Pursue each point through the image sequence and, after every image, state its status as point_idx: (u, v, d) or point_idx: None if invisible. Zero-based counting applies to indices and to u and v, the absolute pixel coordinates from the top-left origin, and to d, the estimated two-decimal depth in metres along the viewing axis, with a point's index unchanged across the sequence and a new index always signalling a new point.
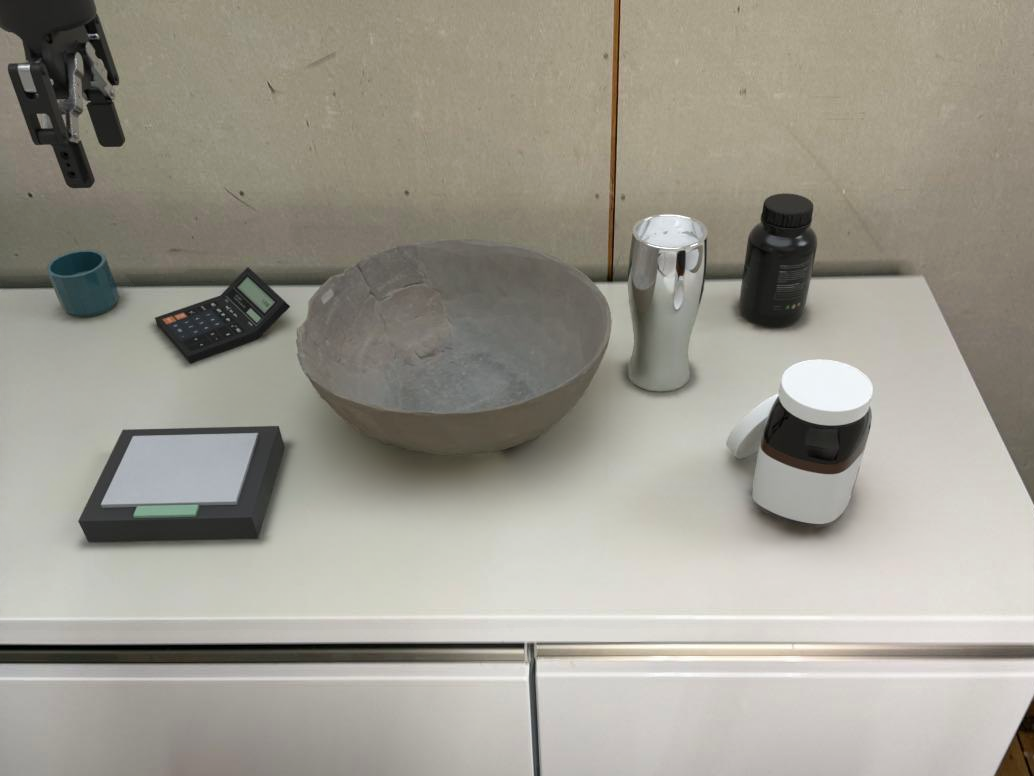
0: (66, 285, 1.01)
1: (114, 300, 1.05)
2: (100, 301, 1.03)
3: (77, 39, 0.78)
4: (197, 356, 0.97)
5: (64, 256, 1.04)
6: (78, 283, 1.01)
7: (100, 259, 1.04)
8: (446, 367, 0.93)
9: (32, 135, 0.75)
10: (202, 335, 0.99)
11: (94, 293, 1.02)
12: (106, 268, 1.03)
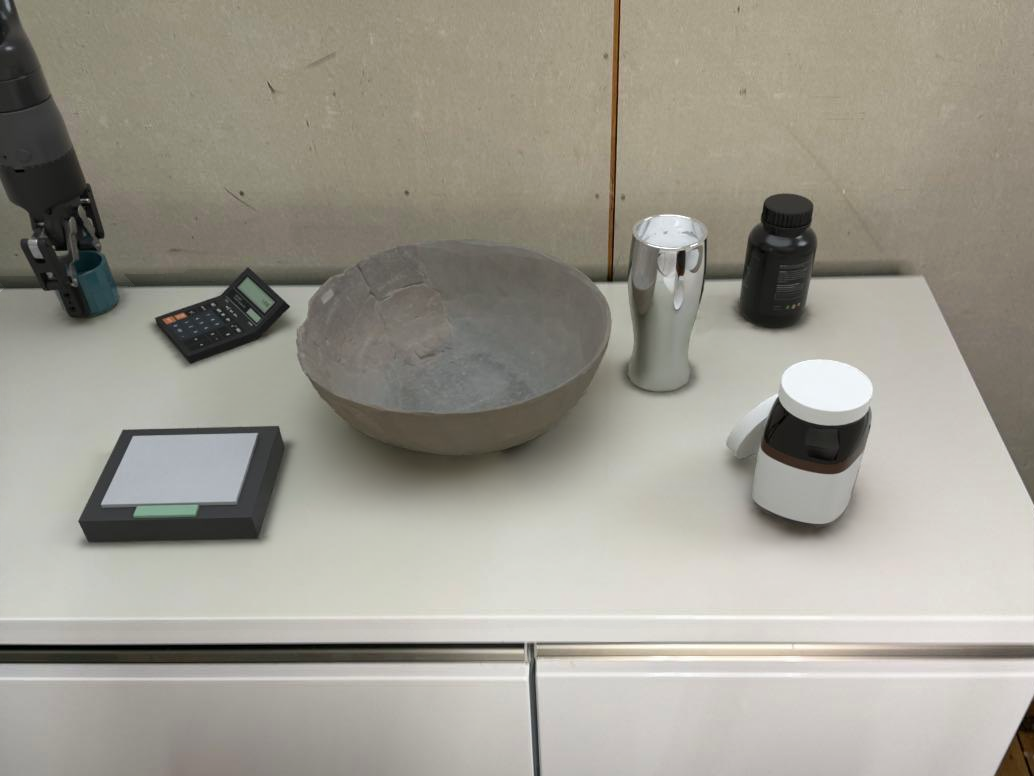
0: None
1: (114, 300, 1.05)
2: (100, 301, 1.03)
3: (71, 204, 0.99)
4: (197, 356, 0.97)
5: None
6: None
7: (100, 259, 1.04)
8: (446, 367, 0.93)
9: (42, 286, 0.97)
10: (202, 335, 0.99)
11: (94, 293, 1.02)
12: (106, 268, 1.03)
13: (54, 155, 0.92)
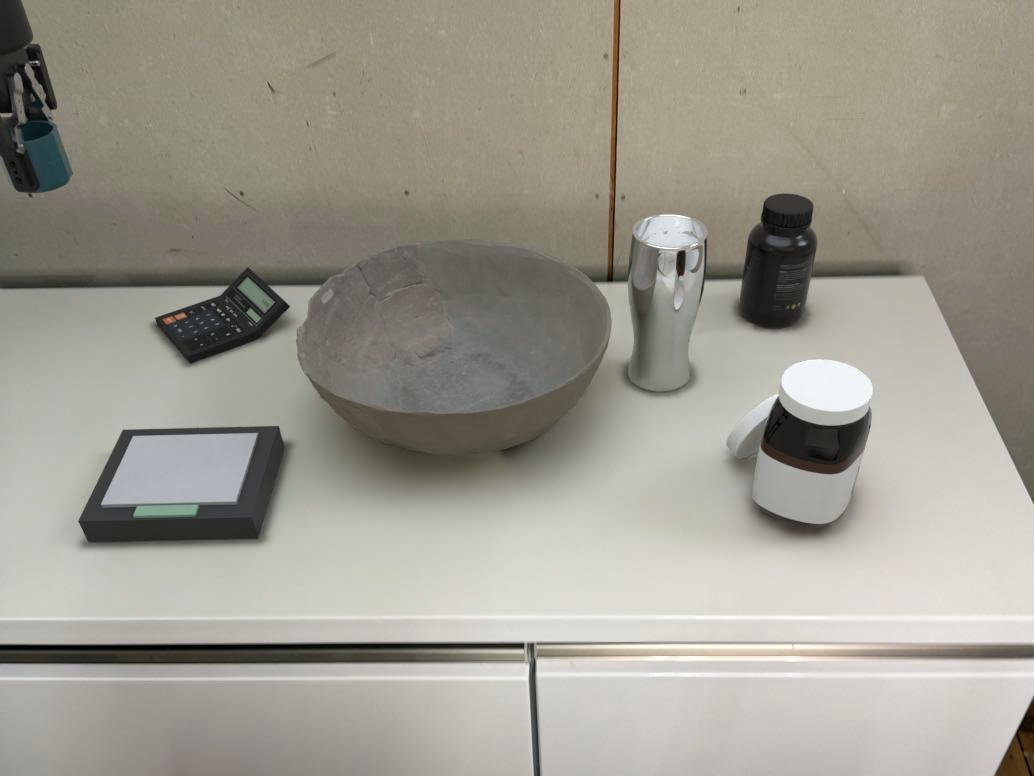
0: None
1: (67, 176, 0.95)
2: (51, 174, 0.93)
3: (17, 61, 0.90)
4: (197, 356, 0.97)
5: None
6: None
7: (51, 130, 0.94)
8: (446, 367, 0.93)
9: None
10: (202, 335, 0.99)
11: (44, 164, 0.93)
12: (57, 138, 0.93)
13: None
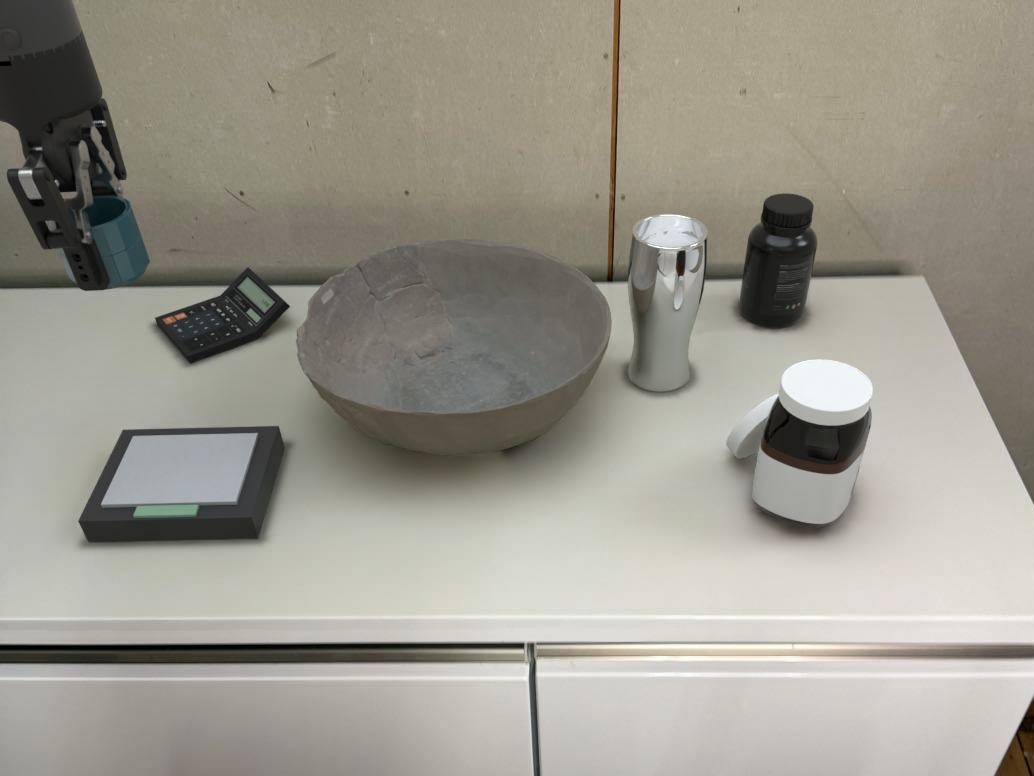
0: None
1: (143, 266, 0.74)
2: (124, 266, 0.72)
3: (81, 123, 0.68)
4: (197, 356, 0.97)
5: None
6: None
7: (123, 207, 0.73)
8: (446, 367, 0.93)
9: (41, 241, 0.66)
10: (202, 335, 0.99)
11: (116, 254, 0.71)
12: (132, 219, 0.72)
13: (56, 40, 0.61)
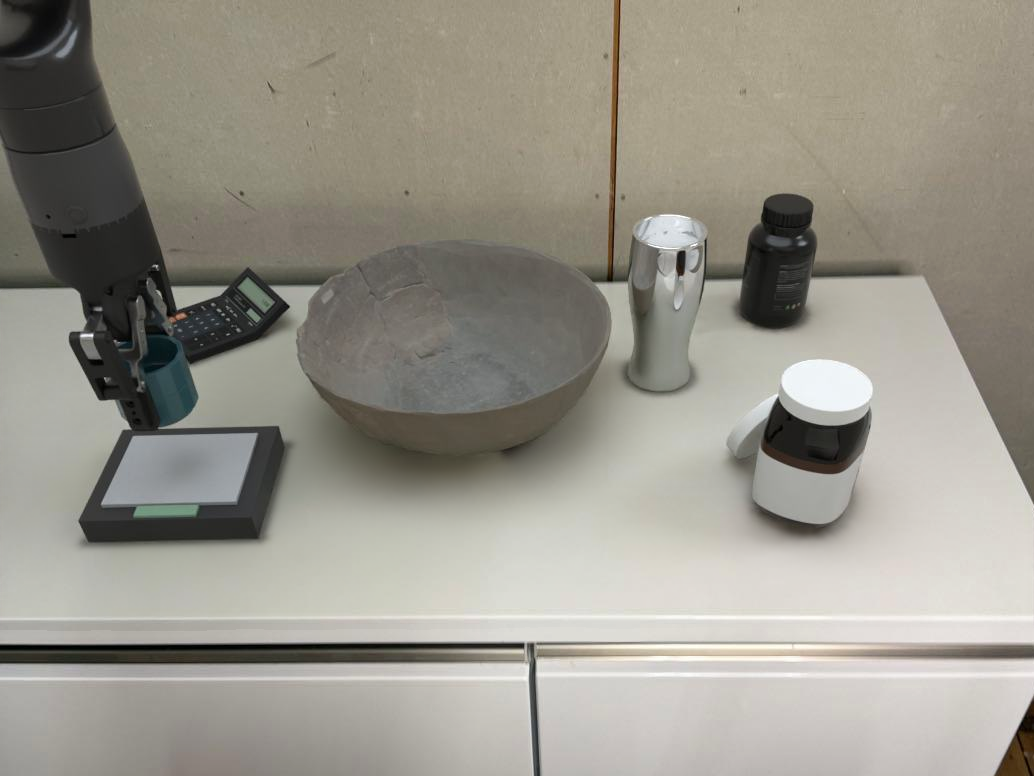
0: None
1: (193, 404, 0.76)
2: (175, 407, 0.74)
3: (137, 275, 0.70)
4: (197, 356, 0.97)
5: (124, 344, 0.75)
6: (146, 385, 0.72)
7: (174, 348, 0.75)
8: (446, 367, 0.93)
9: (98, 394, 0.68)
10: (202, 335, 0.99)
11: (167, 397, 0.73)
12: (183, 362, 0.74)
13: (119, 212, 0.63)
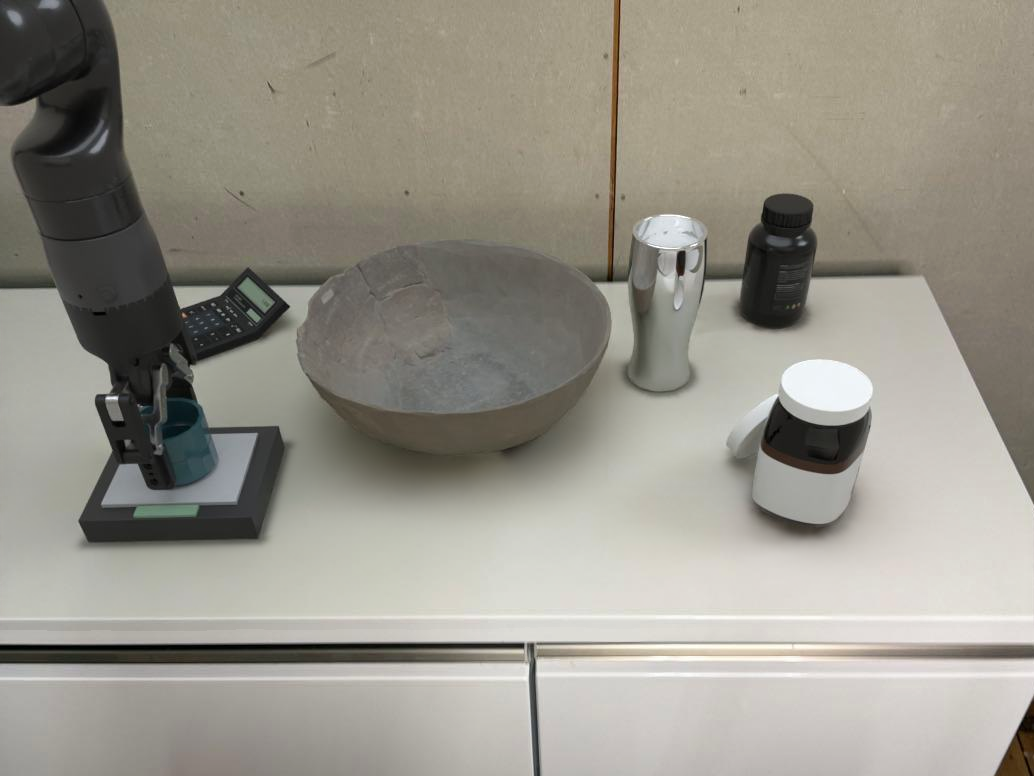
0: None
1: (213, 463, 0.80)
2: (196, 467, 0.78)
3: None
4: (197, 356, 0.97)
5: (148, 407, 0.79)
6: (170, 449, 0.76)
7: (195, 410, 0.79)
8: (446, 367, 0.93)
9: (117, 457, 0.71)
10: (202, 335, 0.99)
11: (189, 459, 0.77)
12: (204, 425, 0.78)
13: (146, 291, 0.67)
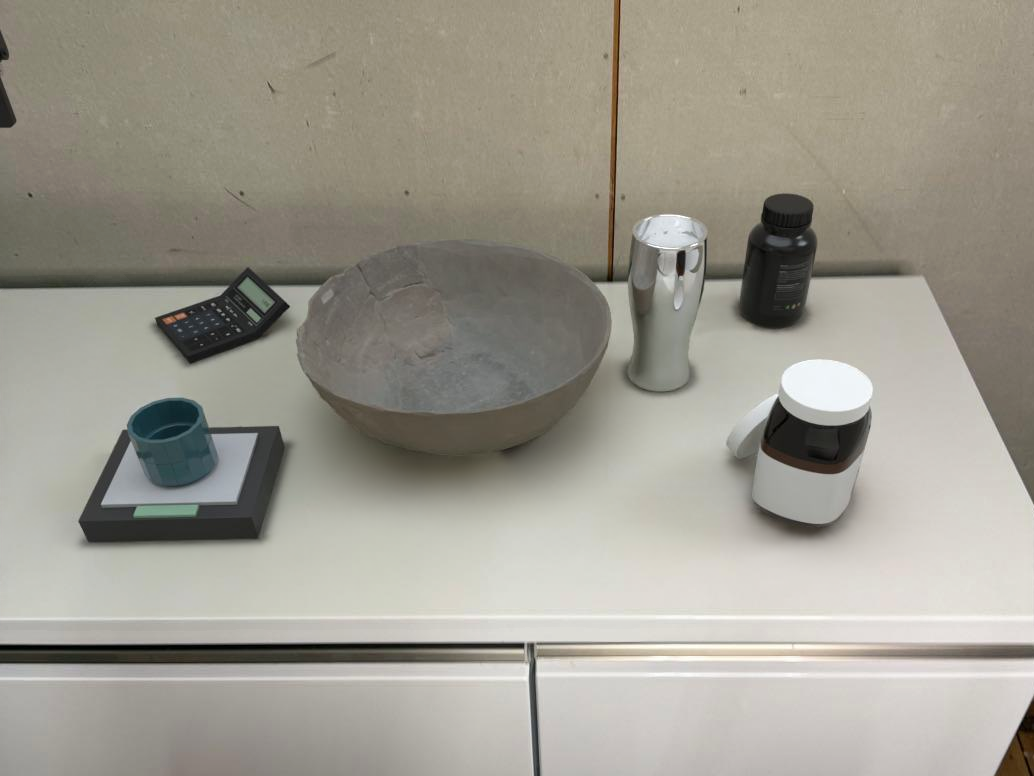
0: (154, 451, 0.76)
1: (213, 463, 0.80)
2: (196, 467, 0.78)
3: None
4: (197, 356, 0.97)
5: (148, 407, 0.79)
6: (170, 449, 0.76)
7: (195, 410, 0.79)
8: (446, 367, 0.93)
9: None
10: (202, 335, 0.99)
11: (189, 459, 0.77)
12: (204, 425, 0.78)
13: None
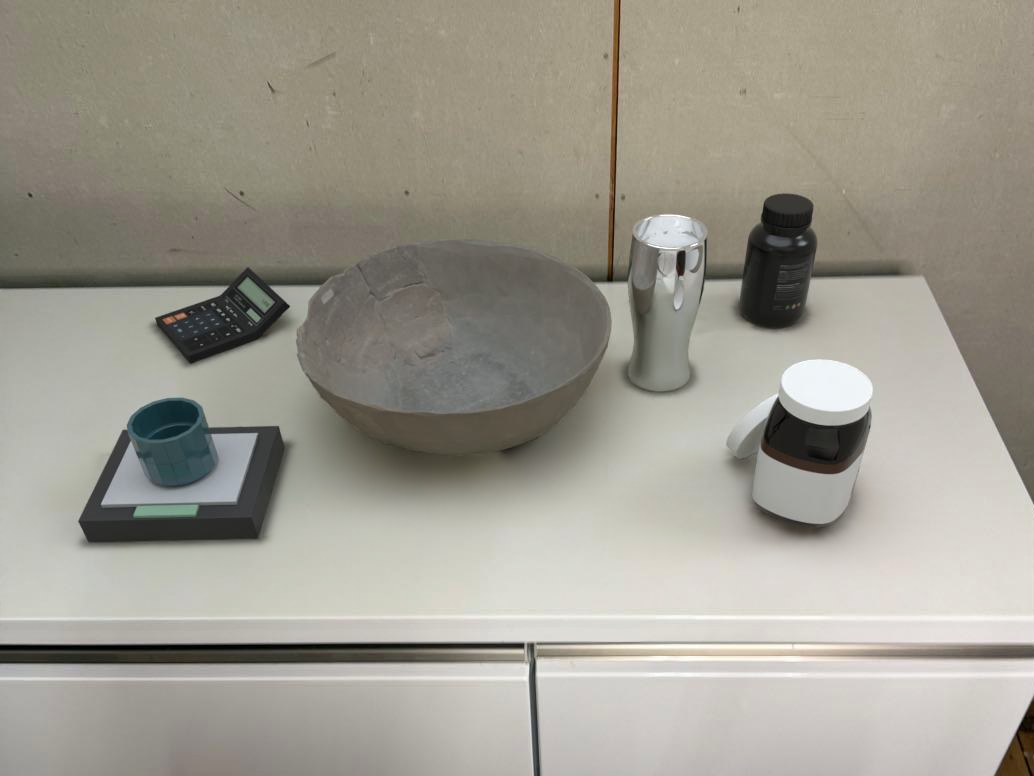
0: (154, 451, 0.76)
1: (213, 463, 0.80)
2: (196, 467, 0.78)
3: None
4: (197, 356, 0.97)
5: (148, 407, 0.79)
6: (170, 449, 0.76)
7: (195, 410, 0.79)
8: (446, 367, 0.93)
9: None
10: (202, 335, 0.99)
11: (189, 459, 0.77)
12: (204, 425, 0.78)
13: None
